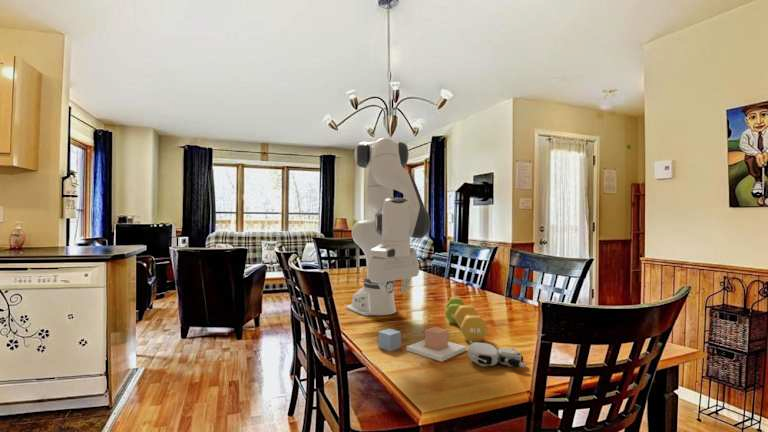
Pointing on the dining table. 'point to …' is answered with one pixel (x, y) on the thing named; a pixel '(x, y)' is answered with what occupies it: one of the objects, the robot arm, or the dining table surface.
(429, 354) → the plate
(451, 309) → the dumbbell
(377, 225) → the robot arm
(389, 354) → the dining table surface
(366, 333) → the dining table surface
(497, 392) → the dining table surface
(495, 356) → the robot toy
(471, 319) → the dumbbell
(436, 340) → the brick terracotta
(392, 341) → the brick blue
